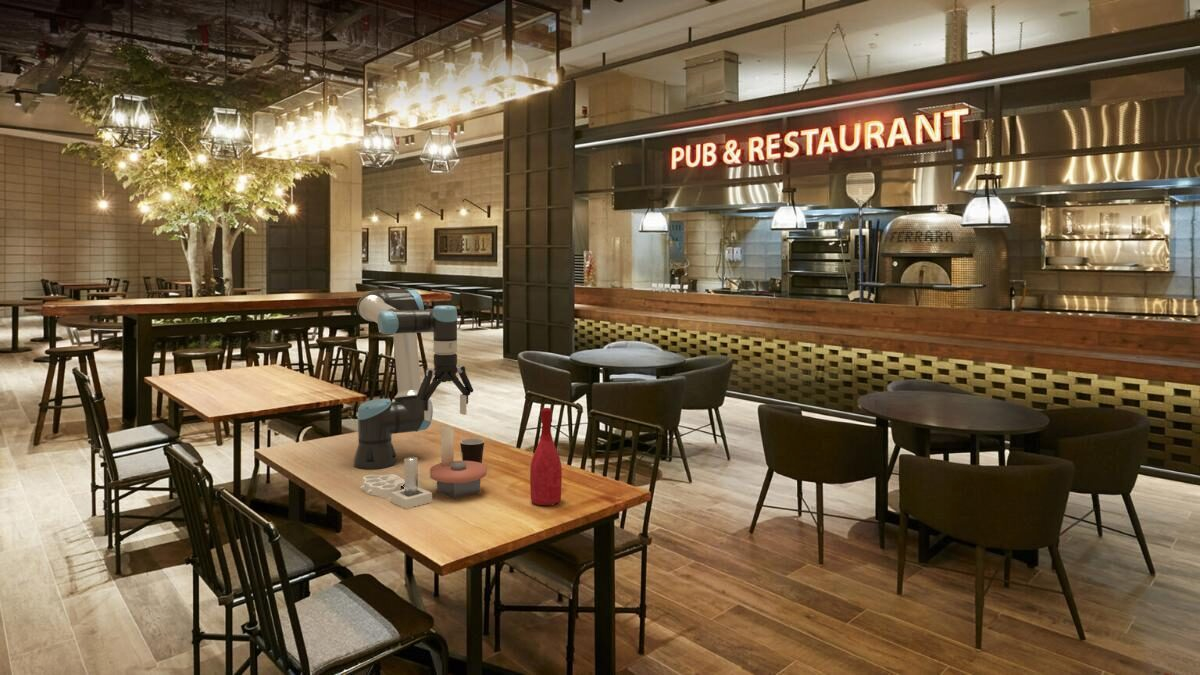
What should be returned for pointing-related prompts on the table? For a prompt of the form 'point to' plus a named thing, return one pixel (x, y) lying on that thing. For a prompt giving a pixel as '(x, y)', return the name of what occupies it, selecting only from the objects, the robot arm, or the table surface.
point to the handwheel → (455, 463)
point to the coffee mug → (472, 450)
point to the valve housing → (458, 489)
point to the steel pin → (411, 476)
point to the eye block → (411, 498)
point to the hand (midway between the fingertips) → (445, 417)
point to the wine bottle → (546, 466)
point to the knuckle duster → (382, 484)
